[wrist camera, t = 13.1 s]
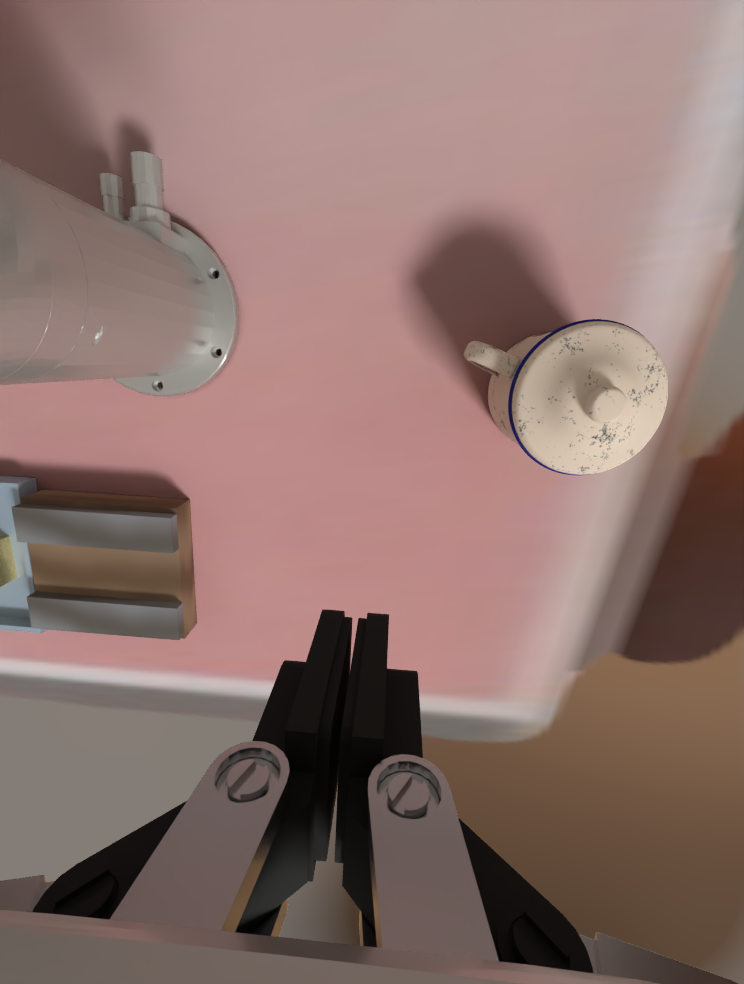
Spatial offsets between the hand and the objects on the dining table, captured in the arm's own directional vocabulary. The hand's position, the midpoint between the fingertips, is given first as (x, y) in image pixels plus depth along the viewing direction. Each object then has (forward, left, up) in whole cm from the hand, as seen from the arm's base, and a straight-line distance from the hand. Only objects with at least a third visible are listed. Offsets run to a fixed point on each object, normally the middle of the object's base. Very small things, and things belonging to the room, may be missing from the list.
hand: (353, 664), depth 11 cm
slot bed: (+11, -23, -27) cm, 37 cm away
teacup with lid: (-6, +10, -27) cm, 30 cm away
